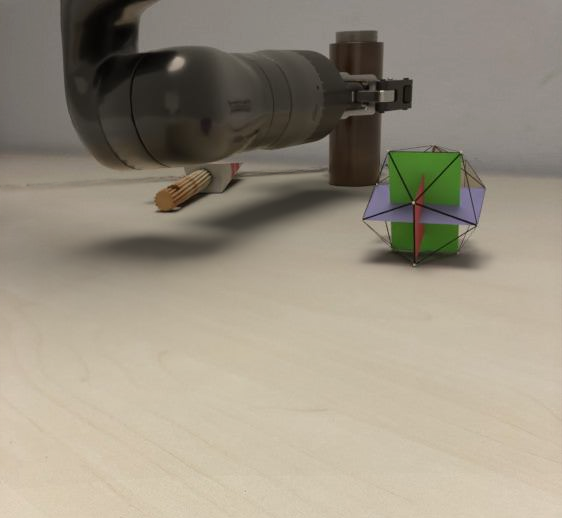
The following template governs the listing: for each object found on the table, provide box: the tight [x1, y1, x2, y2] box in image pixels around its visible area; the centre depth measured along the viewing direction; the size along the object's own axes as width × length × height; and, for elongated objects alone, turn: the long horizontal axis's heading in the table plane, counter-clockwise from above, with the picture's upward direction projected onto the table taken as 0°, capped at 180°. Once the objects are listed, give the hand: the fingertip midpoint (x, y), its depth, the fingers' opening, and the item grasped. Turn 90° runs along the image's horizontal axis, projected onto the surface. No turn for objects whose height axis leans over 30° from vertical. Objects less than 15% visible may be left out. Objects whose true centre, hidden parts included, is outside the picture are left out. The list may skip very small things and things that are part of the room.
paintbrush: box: [153, 161, 244, 212], centre depth 68 cm, size 4×3×20 cm
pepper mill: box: [328, 29, 385, 187], centre depth 70 cm, size 5×5×14 cm
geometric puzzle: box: [360, 143, 488, 267], centre depth 42 cm, size 7×7×8 cm
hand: (362, 92), depth 71 cm, fingers open, 8 cm apart
